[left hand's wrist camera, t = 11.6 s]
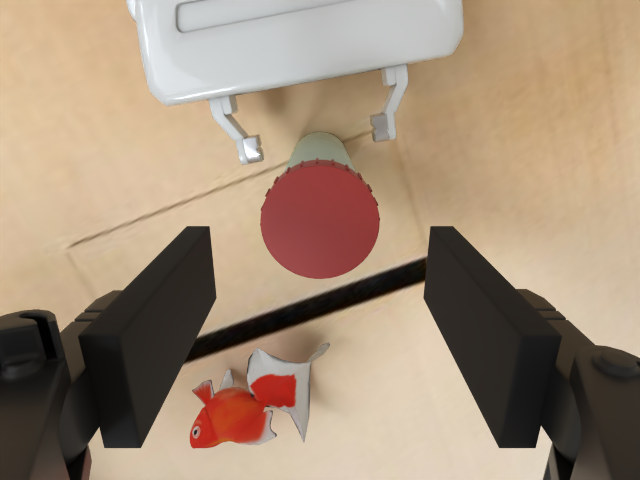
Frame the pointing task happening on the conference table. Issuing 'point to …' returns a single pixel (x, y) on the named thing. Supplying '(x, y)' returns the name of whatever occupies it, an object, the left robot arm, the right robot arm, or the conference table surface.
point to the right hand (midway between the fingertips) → (318, 151)
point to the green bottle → (320, 150)
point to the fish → (254, 402)
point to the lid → (319, 219)
